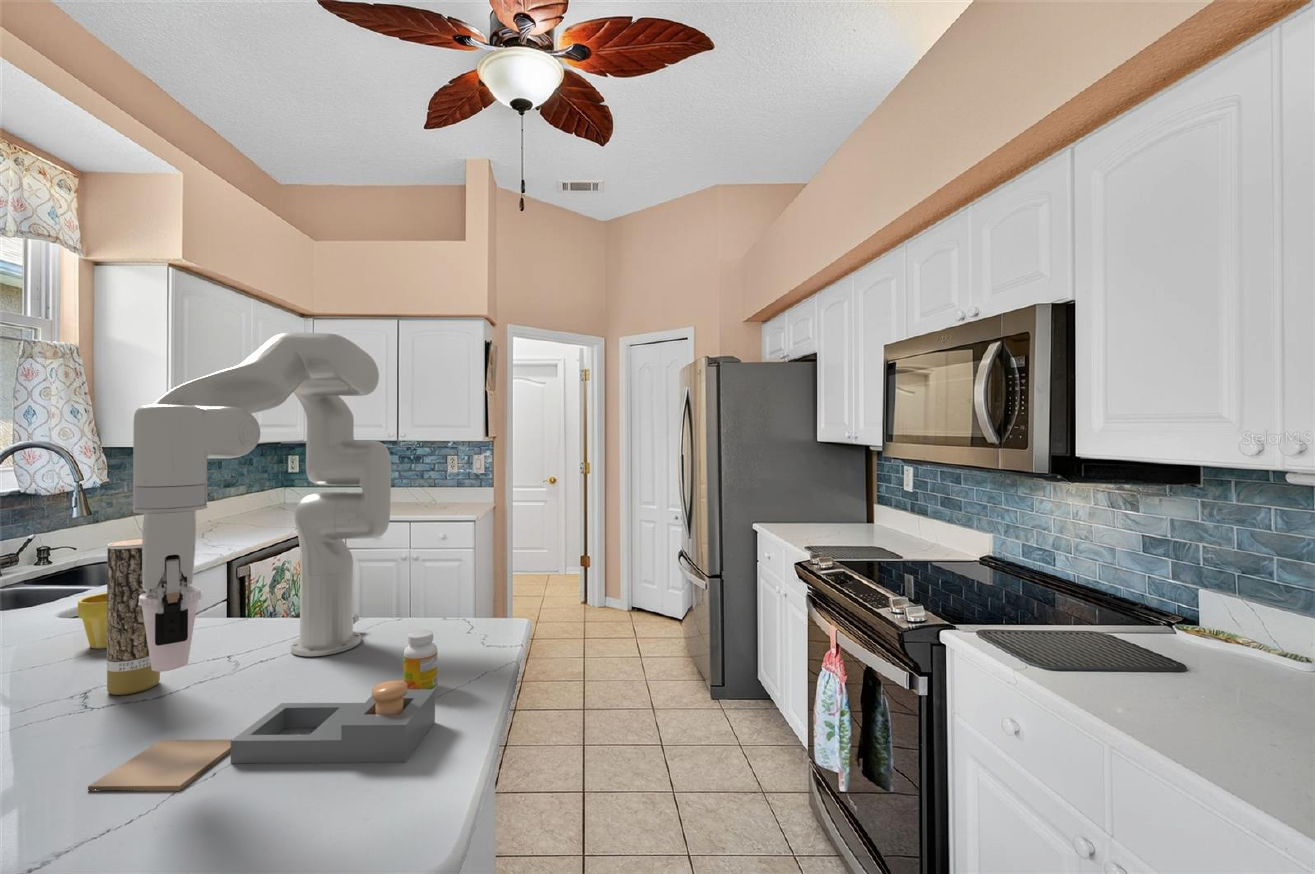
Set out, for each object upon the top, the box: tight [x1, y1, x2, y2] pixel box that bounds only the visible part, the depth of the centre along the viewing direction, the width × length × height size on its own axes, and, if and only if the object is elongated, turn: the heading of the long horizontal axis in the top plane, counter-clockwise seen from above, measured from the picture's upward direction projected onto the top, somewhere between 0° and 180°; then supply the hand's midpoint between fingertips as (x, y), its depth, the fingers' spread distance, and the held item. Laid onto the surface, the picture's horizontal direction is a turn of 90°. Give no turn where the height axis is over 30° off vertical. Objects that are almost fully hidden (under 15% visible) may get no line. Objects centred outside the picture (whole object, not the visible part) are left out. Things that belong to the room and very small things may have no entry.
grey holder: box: [230, 689, 436, 764], centre depth 84 cm, size 11×23×5 cm, turn 91°
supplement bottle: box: [402, 629, 438, 690], centre depth 101 cm, size 5×5×10 cm
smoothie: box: [138, 559, 202, 672], centre depth 77 cm, size 6×6×14 cm
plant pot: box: [77, 592, 107, 650], centre depth 122 cm, size 10×10×10 cm
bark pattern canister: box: [106, 538, 161, 696], centre depth 101 cm, size 7×7×25 cm
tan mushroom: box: [371, 680, 407, 714], centre depth 84 cm, size 5×5×7 cm
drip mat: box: [87, 738, 232, 792], centre depth 78 cm, size 11×11×1 cm
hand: (170, 634), depth 77 cm, fingers closed on smoothie, 6 cm apart
